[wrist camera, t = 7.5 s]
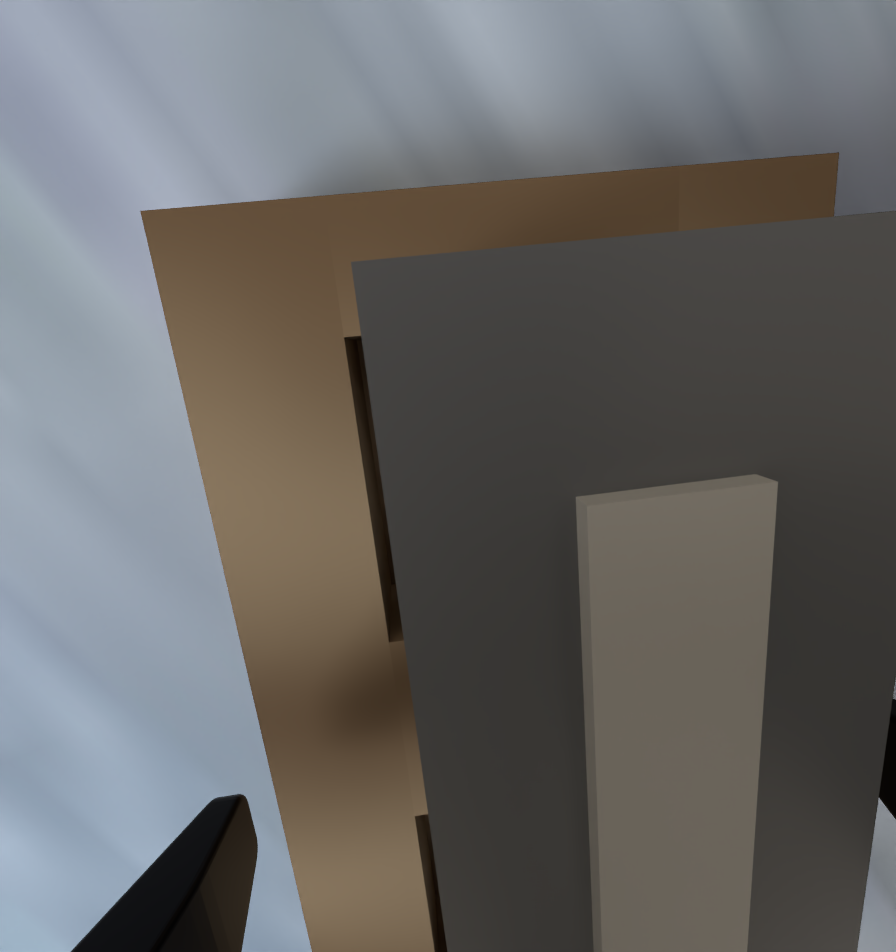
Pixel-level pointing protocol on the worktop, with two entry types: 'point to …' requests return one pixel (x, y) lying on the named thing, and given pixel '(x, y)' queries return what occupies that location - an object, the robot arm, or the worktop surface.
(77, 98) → the worktop surface
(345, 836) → the socket board
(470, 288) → the grey block
